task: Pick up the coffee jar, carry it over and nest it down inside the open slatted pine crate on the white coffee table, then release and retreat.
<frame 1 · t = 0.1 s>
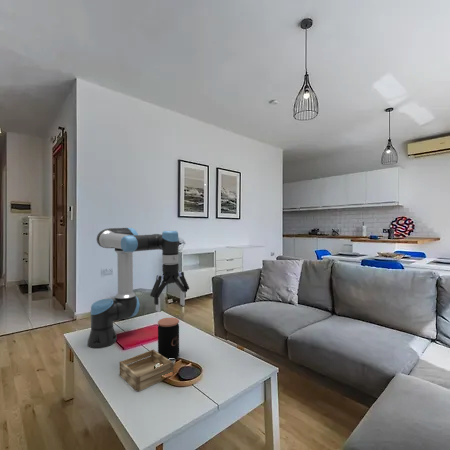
hand: (170, 308, 132), 28 cm above the table, fingers open, 13 cm apart
coffee jar: (168, 356, 142), on the table
pine crate: (146, 375, 125), on the table
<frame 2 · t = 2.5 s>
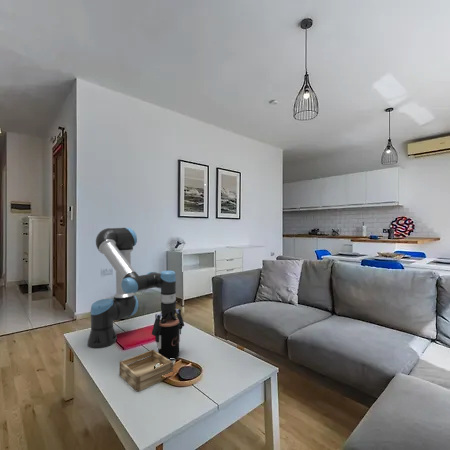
hand: (168, 344, 142), 6 cm above the table, fingers closed on coffee jar, 11 cm apart
coffee jar: (168, 356, 142), on the table, touching gripper
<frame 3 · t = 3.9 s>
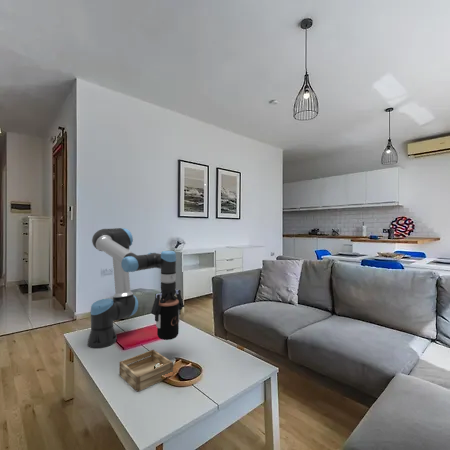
hand: (168, 324, 142), 16 cm above the table, fingers closed on coffee jar, 11 cm apart
coffee jar: (167, 336, 142), point 10 cm above the table, touching gripper
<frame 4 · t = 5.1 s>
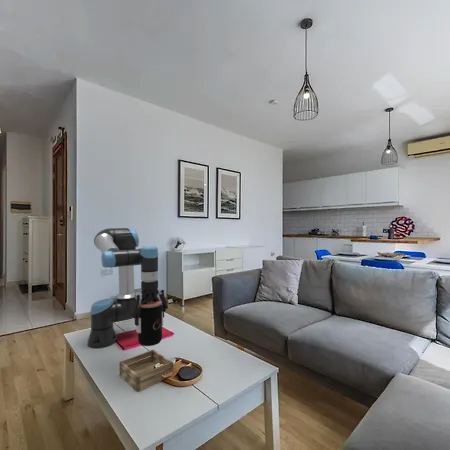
hand: (150, 328, 127), 20 cm above the table, fingers closed on coffee jar, 11 cm apart
coffee jar: (150, 342, 127), point 14 cm above the table, touching gripper
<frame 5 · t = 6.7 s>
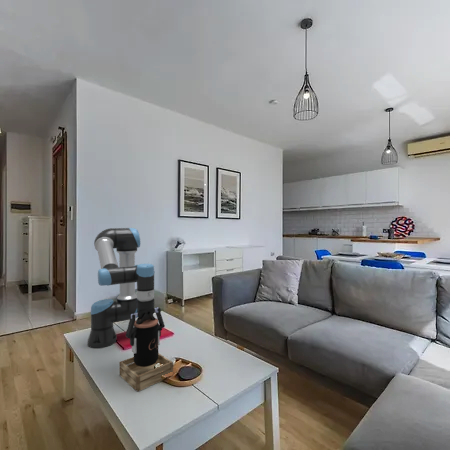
hand: (146, 348, 124), 12 cm above the table, fingers closed on coffee jar, 11 cm apart
coffee jar: (146, 361, 124), point 6 cm above the table, touching gripper
when the fingers open (9 cm above the table, at t = 8.0 s): coffee jar drops 2 cm, resting on pine crate.
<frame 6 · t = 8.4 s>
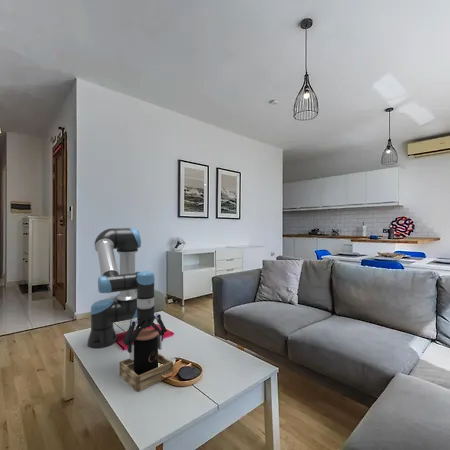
hand: (146, 353, 124), 10 cm above the table, fingers open, 13 cm apart
coffee jar: (146, 373, 125), point 1 cm above the table, touching pine crate
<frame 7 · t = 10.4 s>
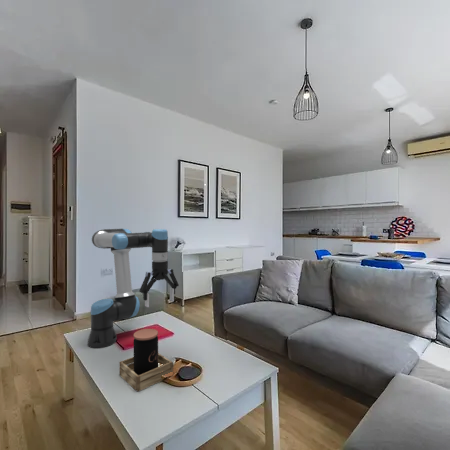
hand: (159, 303, 137), 28 cm above the table, fingers open, 13 cm apart
nothing on the table moved.
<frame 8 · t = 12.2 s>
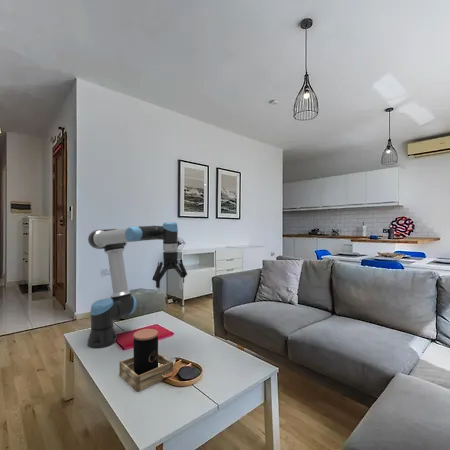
hand: (170, 291, 147), 32 cm above the table, fingers open, 13 cm apart
nothing on the table moved.
at the end: coffee jar inside the target area on the pine crate (0.0 cm from its centre), point 0.8 cm above the pine crate's base; coffee jar tilted 0°; the gripper is holding nothing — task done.
